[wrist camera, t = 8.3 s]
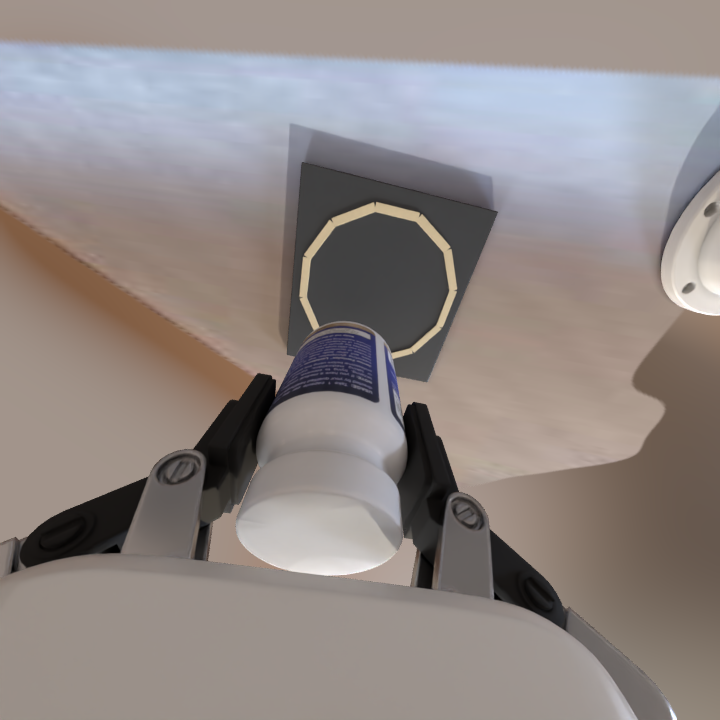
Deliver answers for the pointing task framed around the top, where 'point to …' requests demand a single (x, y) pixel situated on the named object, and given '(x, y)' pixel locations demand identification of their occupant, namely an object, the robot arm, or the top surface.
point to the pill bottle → (329, 459)
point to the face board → (382, 263)
